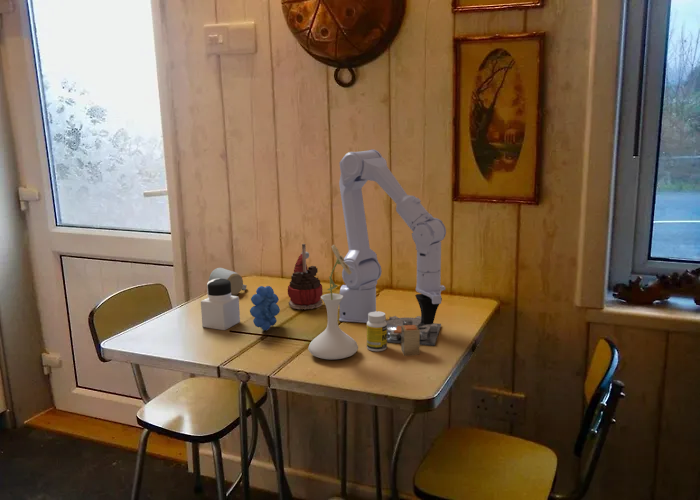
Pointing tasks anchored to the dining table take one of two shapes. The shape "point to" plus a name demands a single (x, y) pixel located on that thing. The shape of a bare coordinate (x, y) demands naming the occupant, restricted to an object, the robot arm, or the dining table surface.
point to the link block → (410, 339)
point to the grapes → (264, 307)
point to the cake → (304, 285)
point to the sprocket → (396, 323)
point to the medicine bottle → (220, 306)
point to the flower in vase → (333, 325)
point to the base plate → (429, 341)
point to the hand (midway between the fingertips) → (428, 323)
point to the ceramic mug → (231, 276)
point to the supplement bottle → (376, 331)
